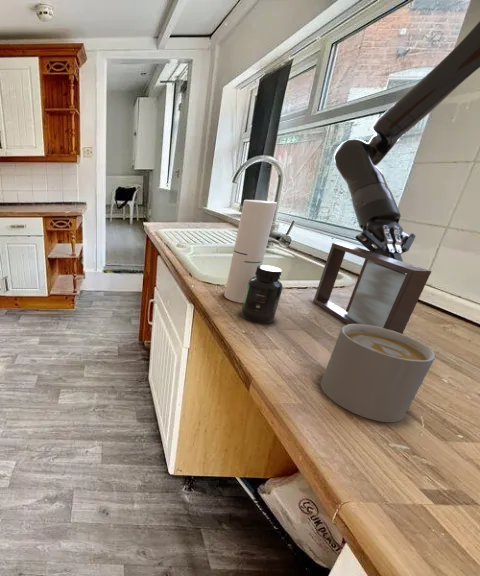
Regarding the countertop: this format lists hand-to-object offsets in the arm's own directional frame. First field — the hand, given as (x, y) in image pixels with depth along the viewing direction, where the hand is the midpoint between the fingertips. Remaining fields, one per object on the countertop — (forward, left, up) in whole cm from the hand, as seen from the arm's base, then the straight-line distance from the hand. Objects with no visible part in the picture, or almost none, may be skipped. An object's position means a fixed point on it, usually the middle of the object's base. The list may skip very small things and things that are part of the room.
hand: (396, 269), depth 69 cm
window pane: (+6, +3, -11) cm, 12 cm away
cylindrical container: (+22, -22, -12) cm, 33 cm away
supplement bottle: (+28, -12, -12) cm, 33 cm away
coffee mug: (+36, +12, -12) cm, 40 cm away
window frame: (+9, -2, -12) cm, 15 cm away
